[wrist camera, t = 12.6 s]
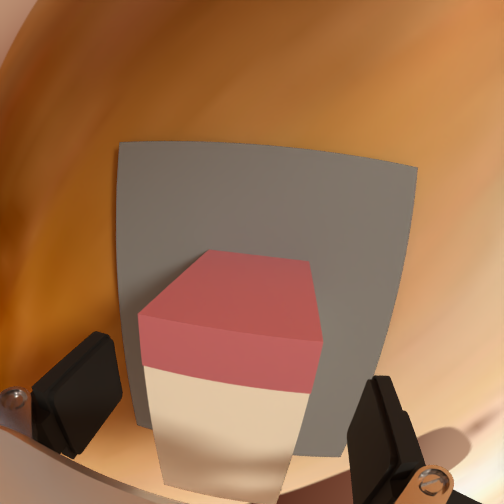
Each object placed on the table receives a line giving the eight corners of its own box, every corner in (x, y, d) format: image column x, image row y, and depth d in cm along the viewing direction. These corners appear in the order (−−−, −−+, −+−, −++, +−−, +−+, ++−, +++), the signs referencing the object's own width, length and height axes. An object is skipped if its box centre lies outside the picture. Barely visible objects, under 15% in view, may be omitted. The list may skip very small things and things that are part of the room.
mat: (412, 167, 12) (417, 167, 12) (339, 450, 17) (340, 457, 16) (125, 143, 14) (119, 142, 13) (140, 419, 18) (137, 424, 18)
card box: (284, 400, 16) (275, 506, 9) (204, 388, 16) (163, 484, 9) (309, 261, 14) (323, 342, 7) (208, 249, 14) (138, 313, 7)
